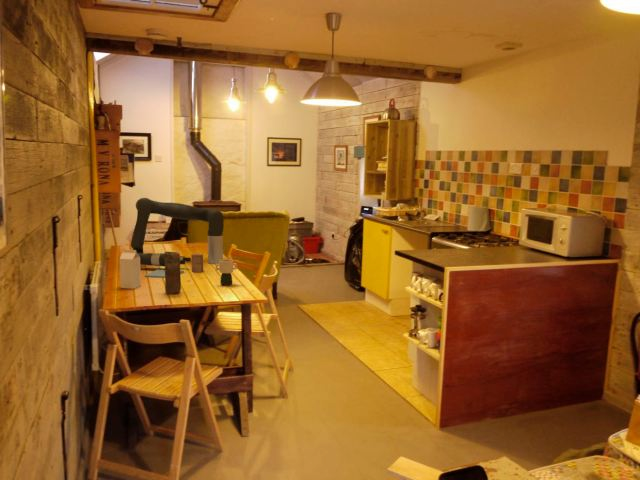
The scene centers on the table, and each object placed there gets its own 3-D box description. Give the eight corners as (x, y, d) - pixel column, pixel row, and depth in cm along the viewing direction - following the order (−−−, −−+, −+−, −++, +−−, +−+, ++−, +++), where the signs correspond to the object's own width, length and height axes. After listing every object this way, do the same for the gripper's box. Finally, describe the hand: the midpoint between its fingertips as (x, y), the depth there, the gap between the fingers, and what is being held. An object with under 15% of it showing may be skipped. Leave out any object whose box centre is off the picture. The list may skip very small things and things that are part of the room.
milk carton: (133, 289, 268) (132, 251, 265) (120, 288, 269) (119, 250, 266) (141, 285, 274) (139, 249, 272) (128, 284, 276) (127, 248, 273)
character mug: (236, 282, 285) (235, 258, 283) (237, 285, 278) (237, 261, 276) (215, 283, 282) (214, 259, 280) (216, 286, 275) (216, 261, 273)
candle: (167, 290, 266) (166, 250, 263) (182, 290, 266) (181, 250, 263) (163, 294, 258) (162, 253, 255) (179, 294, 259) (178, 253, 256)
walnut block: (195, 270, 313) (194, 253, 311) (203, 271, 312) (203, 254, 311) (191, 272, 308) (191, 255, 306) (200, 272, 307) (199, 255, 306)
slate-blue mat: (157, 270, 310) (157, 269, 310) (183, 272, 308) (183, 270, 308) (144, 276, 295) (144, 275, 295) (172, 278, 292) (172, 276, 292)
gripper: (155, 255, 305) (182, 256, 303) (166, 251, 319) (192, 252, 316) (155, 268, 306) (183, 269, 304) (166, 263, 320) (192, 264, 318)
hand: (187, 260), depth 310 cm, fingers open, 8 cm apart
